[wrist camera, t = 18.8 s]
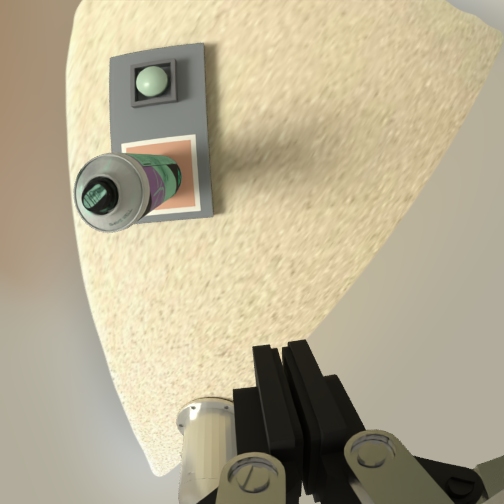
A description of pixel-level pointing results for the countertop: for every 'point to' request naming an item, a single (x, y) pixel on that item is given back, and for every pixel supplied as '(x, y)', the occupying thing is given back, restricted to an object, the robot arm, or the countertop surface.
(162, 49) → the picture board
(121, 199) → the spray can
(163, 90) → the button
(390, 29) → the countertop surface
